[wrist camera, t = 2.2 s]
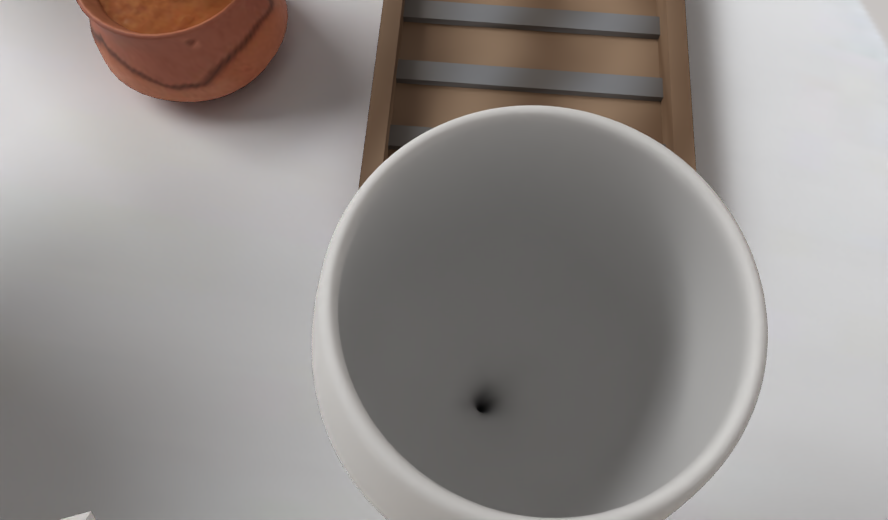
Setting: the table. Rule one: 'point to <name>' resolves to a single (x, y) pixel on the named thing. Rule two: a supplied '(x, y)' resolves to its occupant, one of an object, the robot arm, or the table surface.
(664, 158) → the wineglass
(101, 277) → the table surface
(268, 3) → the potted flower
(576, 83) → the wooden tray
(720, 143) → the table surface
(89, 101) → the table surface
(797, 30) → the table surface
